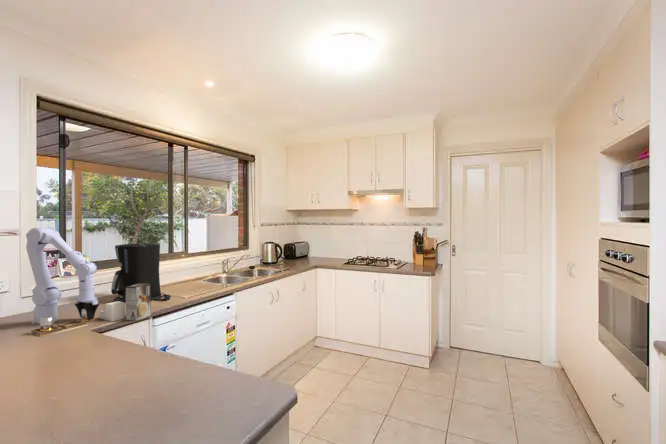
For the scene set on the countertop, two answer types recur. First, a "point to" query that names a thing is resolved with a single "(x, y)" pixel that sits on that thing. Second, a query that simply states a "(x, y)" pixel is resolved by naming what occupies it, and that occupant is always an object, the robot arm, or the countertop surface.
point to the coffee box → (138, 301)
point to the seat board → (60, 328)
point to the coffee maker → (138, 269)
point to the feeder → (113, 311)
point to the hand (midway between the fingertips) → (87, 318)
